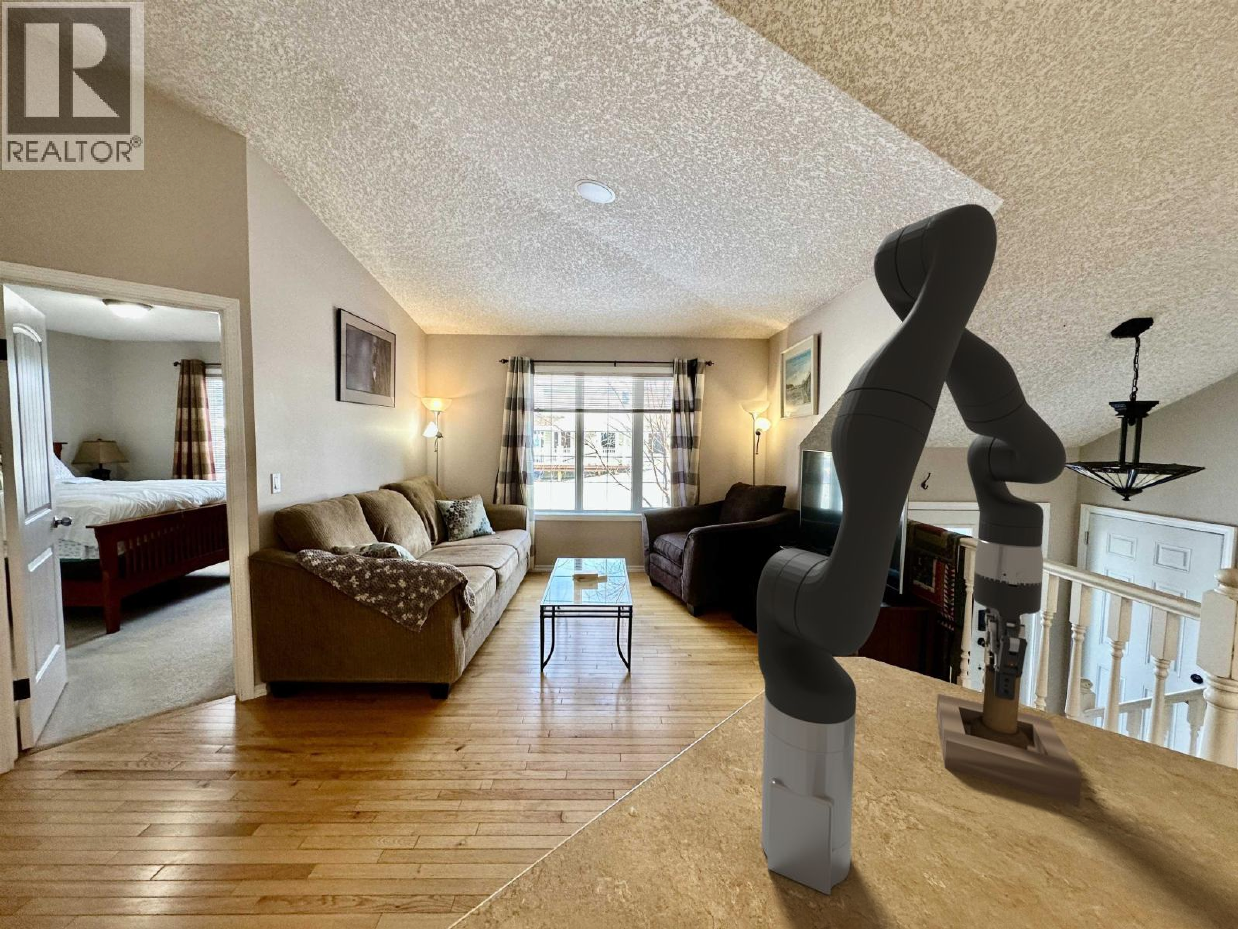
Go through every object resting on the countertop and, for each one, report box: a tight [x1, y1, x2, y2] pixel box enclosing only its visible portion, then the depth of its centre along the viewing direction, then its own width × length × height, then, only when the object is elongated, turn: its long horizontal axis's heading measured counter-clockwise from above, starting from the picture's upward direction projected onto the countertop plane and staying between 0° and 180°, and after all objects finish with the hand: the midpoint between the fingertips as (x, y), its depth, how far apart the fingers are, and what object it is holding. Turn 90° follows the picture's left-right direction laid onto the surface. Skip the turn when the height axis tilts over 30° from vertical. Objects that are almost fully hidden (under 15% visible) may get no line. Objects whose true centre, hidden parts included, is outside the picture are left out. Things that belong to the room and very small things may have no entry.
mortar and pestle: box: [970, 645, 1028, 750], centre depth 69 cm, size 7×6×18 cm
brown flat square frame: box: [935, 693, 1082, 807], centre depth 70 cm, size 14×14×4 cm
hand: (1000, 690), depth 69 cm, fingers closed on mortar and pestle, 4 cm apart
